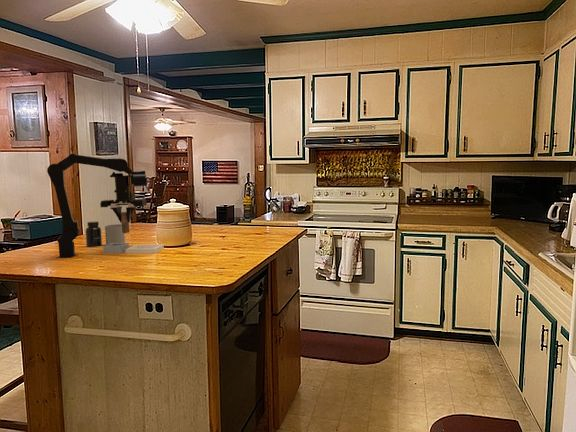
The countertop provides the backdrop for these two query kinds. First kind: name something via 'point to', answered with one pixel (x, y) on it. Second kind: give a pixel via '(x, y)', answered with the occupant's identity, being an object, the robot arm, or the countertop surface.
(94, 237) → the supplement bottle
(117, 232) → the cup
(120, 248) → the grey square peg base
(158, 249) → the tray
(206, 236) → the countertop surface
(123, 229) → the dowel
